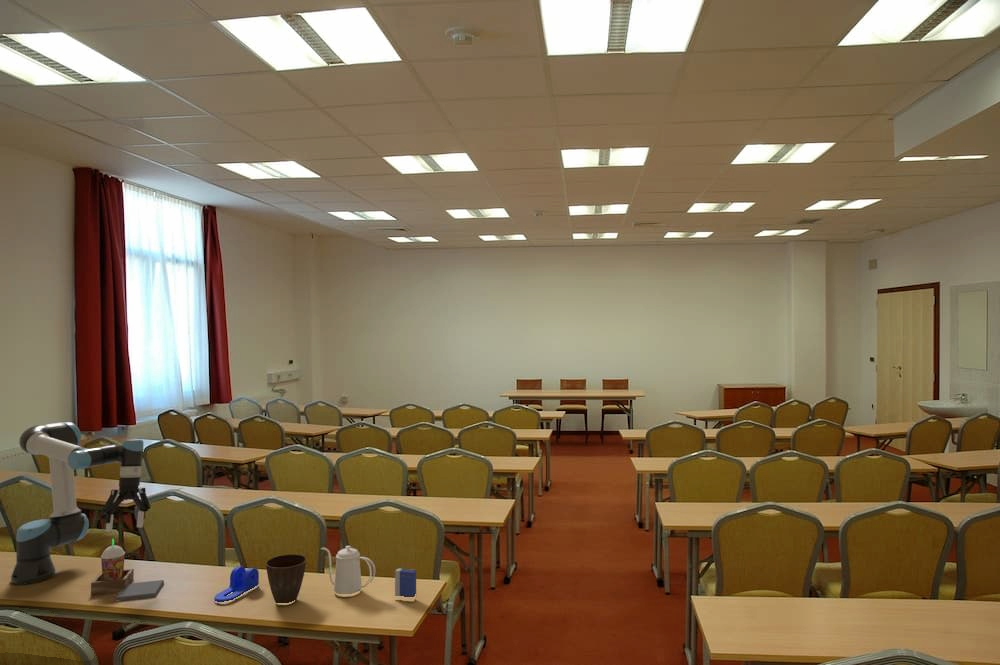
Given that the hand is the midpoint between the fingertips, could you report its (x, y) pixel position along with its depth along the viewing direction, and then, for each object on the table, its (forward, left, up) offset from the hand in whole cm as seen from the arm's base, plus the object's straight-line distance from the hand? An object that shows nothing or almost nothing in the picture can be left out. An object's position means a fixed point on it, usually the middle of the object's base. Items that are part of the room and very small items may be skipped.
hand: (124, 529), depth 253 cm
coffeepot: (+33, +88, -24) cm, 97 cm away
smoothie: (0, -4, -24) cm, 24 cm away
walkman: (+47, +110, -24) cm, 122 cm away
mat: (+8, +8, -24) cm, 26 cm away
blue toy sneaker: (+22, +45, -24) cm, 56 cm away
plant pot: (+35, +65, -24) cm, 78 cm away
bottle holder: (0, -4, -24) cm, 24 cm away
